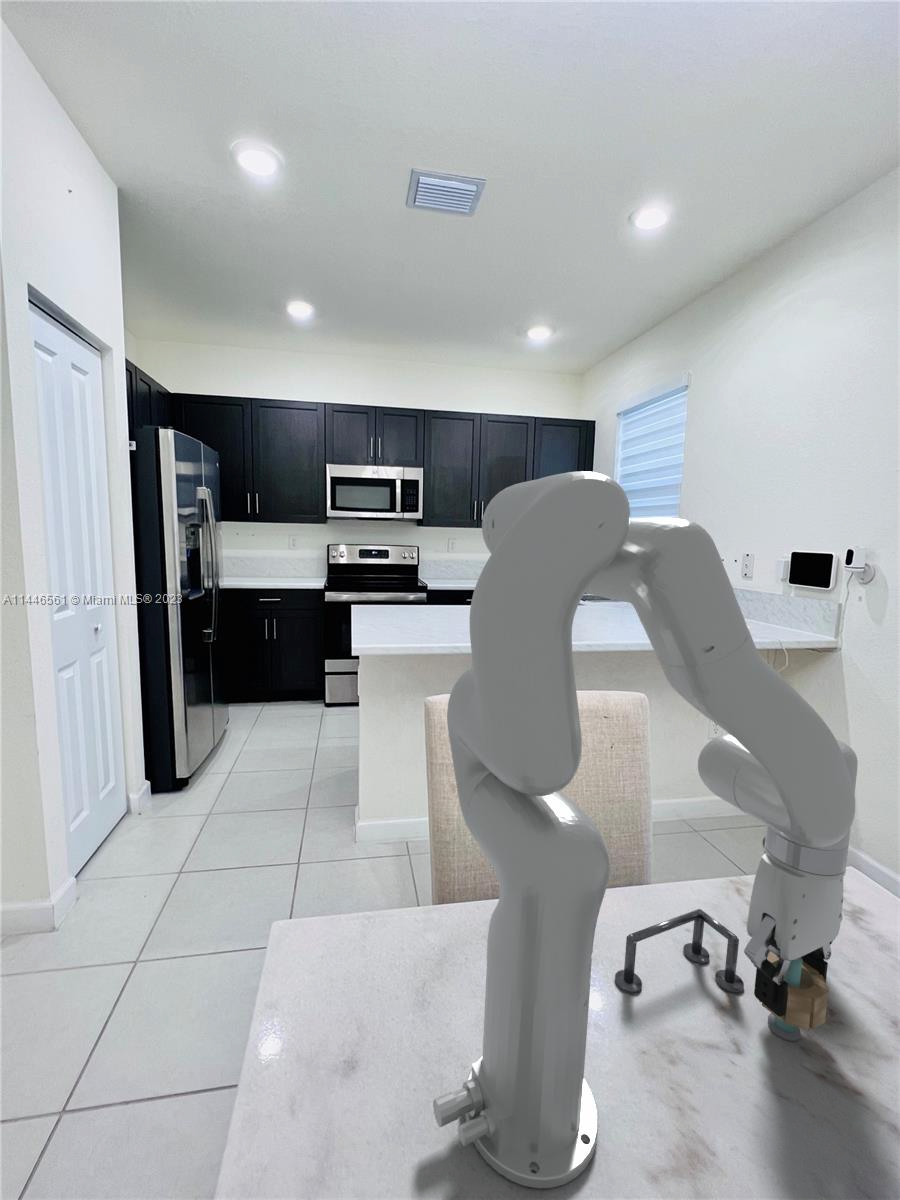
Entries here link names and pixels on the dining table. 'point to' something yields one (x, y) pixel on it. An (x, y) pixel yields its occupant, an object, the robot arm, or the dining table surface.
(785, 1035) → the peg
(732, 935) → the corner grab bar
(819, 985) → the ring
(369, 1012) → the dining table surface
